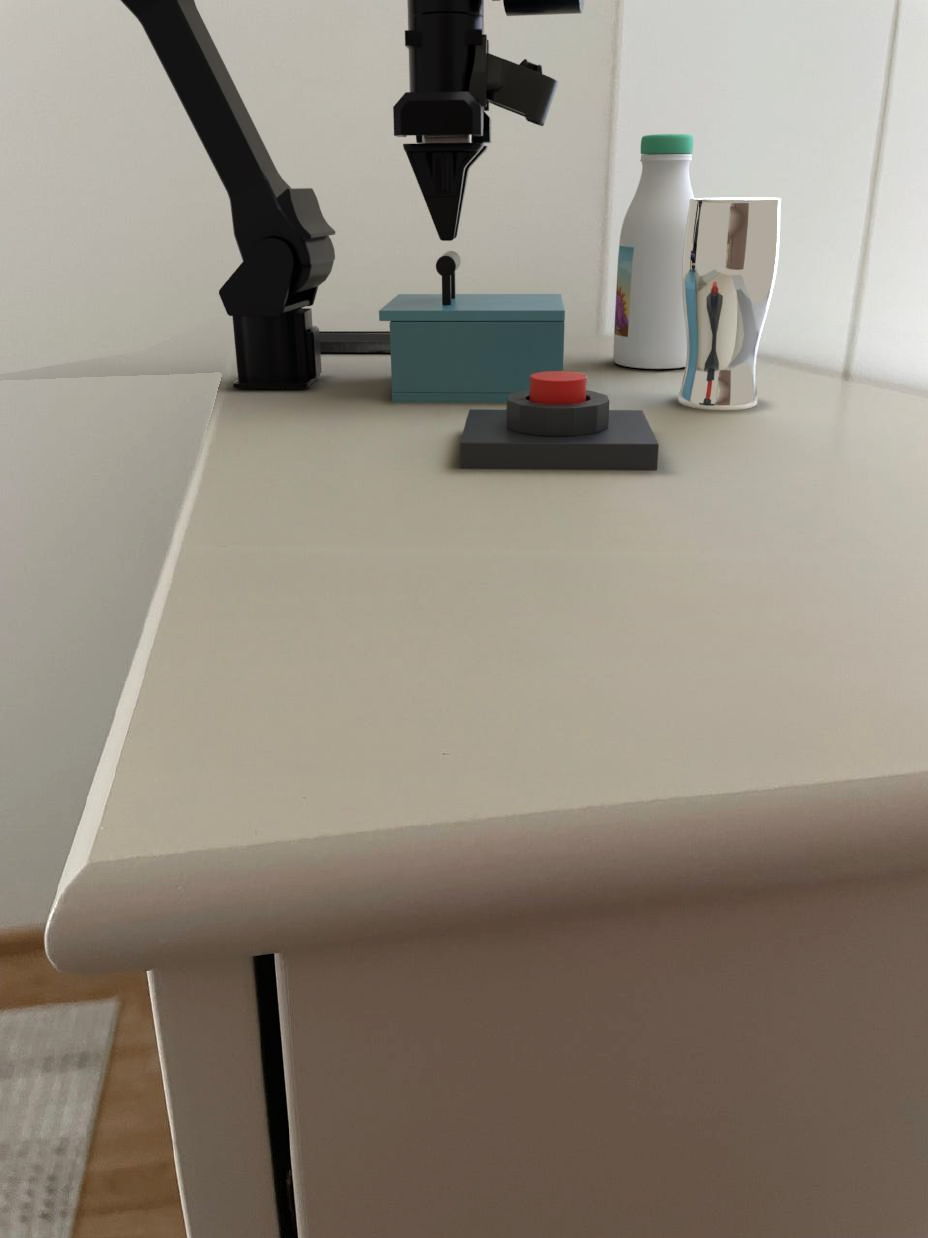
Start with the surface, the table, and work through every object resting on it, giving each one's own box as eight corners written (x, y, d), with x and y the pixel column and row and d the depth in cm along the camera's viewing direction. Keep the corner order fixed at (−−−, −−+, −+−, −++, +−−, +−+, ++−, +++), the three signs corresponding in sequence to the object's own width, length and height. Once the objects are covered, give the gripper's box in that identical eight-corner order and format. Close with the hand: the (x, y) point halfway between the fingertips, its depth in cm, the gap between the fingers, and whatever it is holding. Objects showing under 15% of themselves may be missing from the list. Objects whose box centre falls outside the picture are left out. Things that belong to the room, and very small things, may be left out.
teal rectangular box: (392, 402, 83) (389, 321, 81) (409, 375, 95) (407, 303, 92) (562, 403, 82) (564, 321, 80) (558, 375, 94) (560, 303, 91)
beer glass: (765, 413, 78) (788, 198, 72) (671, 410, 79) (686, 199, 73) (760, 396, 84) (780, 197, 78) (673, 393, 86) (686, 197, 80)
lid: (379, 320, 81) (376, 258, 79) (398, 303, 92) (396, 248, 90) (564, 320, 80) (566, 257, 78) (560, 303, 91) (562, 247, 90)
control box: (460, 469, 64) (459, 412, 62) (469, 433, 73) (468, 383, 71) (657, 471, 63) (660, 414, 62) (641, 434, 72) (644, 383, 71)
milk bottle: (706, 361, 100) (724, 134, 93) (676, 373, 94) (693, 131, 87) (632, 355, 104) (644, 136, 97) (599, 366, 98) (609, 134, 91)
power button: (529, 408, 65) (530, 380, 64) (529, 397, 68) (530, 370, 68) (587, 409, 65) (588, 380, 64) (584, 397, 68) (585, 370, 67)
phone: (296, 331, 114) (432, 330, 113) (297, 341, 114) (432, 341, 114) (280, 341, 107) (425, 341, 106) (281, 352, 107) (426, 352, 106)
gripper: (555, -4, 69) (549, 245, 75) (551, 32, 86) (547, 233, 92) (388, -1, 69) (396, 246, 75) (418, 35, 87) (422, 234, 93)
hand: (448, 239), depth 84 cm, fingers open, 3 cm apart
